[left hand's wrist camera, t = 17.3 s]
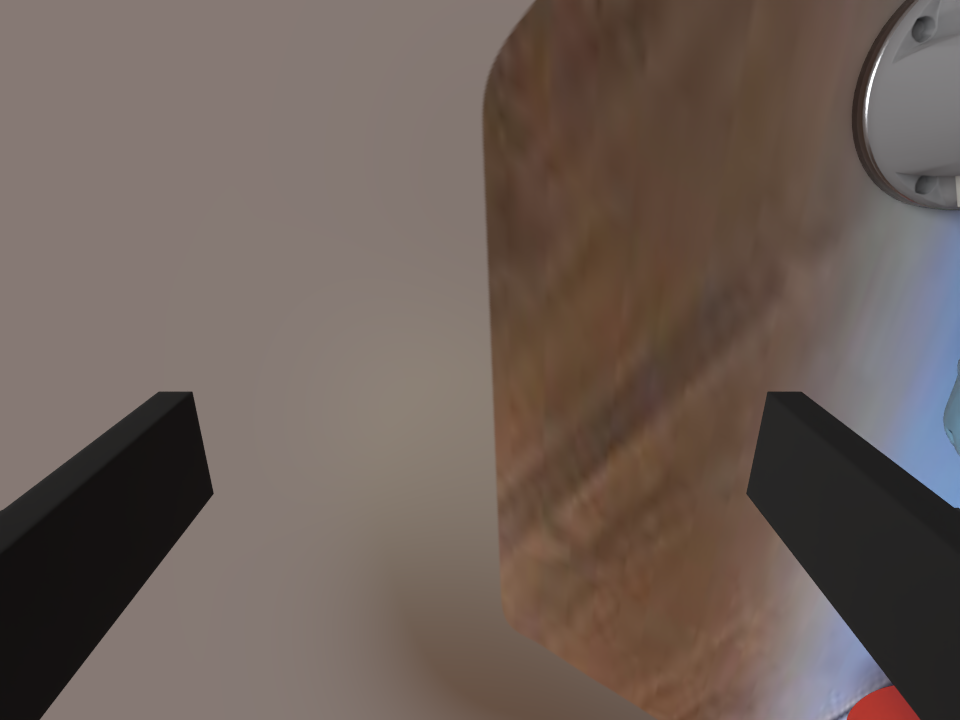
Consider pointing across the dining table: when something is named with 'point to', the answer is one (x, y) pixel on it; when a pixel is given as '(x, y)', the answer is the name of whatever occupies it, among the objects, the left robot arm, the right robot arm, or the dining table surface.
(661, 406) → the dining table surface
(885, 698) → the can
